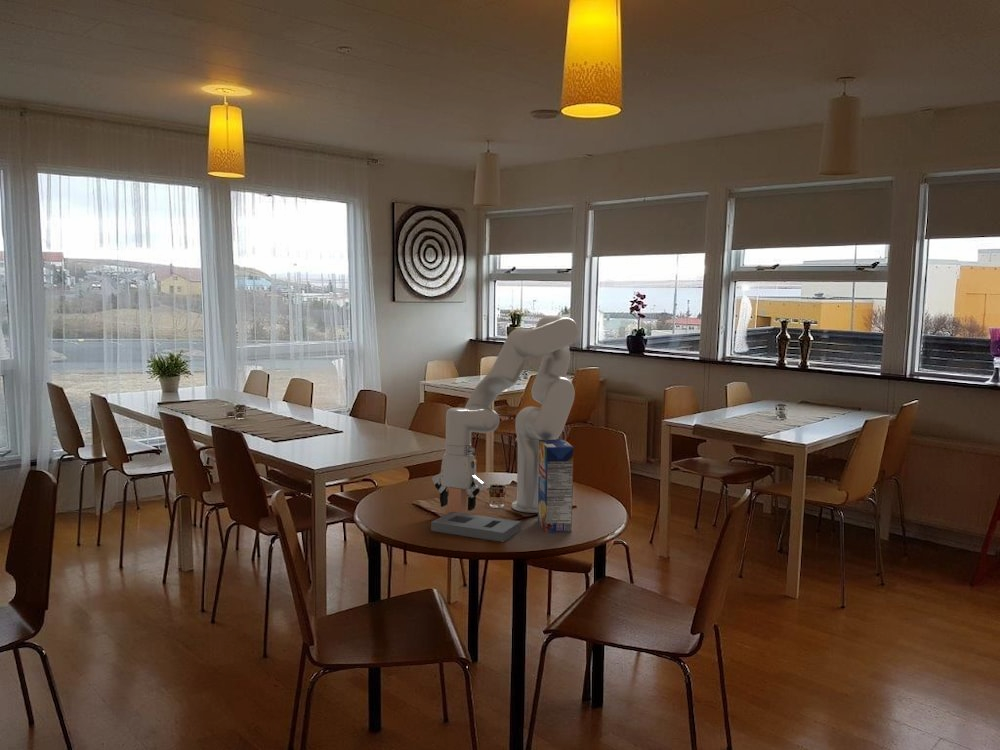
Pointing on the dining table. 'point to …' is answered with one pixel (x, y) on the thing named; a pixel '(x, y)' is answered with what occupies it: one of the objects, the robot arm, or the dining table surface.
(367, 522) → the dining table surface
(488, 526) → the socket board
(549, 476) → the juice carton
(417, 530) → the dining table surface
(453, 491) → the square peg
